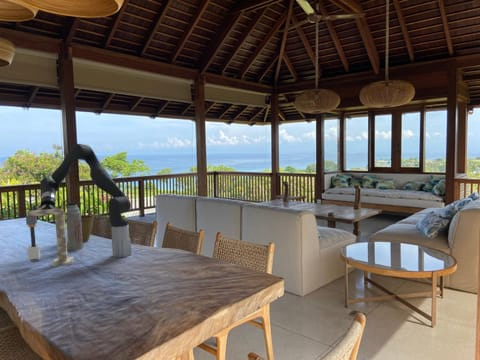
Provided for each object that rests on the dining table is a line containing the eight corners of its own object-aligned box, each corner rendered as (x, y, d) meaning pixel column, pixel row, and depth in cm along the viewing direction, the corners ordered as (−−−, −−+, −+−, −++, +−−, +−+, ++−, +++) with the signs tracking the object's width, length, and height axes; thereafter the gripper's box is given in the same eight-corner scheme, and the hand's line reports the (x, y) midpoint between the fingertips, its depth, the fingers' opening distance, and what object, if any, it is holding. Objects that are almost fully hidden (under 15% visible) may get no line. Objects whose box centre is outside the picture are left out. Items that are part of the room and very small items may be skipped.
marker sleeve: (40, 255, 176) (39, 244, 175) (38, 258, 172) (37, 247, 171) (30, 256, 174) (29, 245, 174) (28, 259, 170) (27, 248, 169)
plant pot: (85, 244, 211) (83, 219, 210) (64, 243, 214) (63, 219, 213) (99, 238, 226) (98, 214, 224) (80, 237, 229) (78, 214, 227)
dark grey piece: (40, 259, 176) (36, 214, 173) (38, 262, 172) (34, 216, 170) (31, 260, 174) (27, 215, 172) (29, 263, 171) (25, 217, 168)
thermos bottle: (85, 247, 204) (82, 202, 201) (72, 251, 198) (69, 204, 195) (78, 245, 209) (75, 201, 206) (65, 248, 202) (62, 203, 200)
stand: (73, 258, 184) (69, 207, 181) (71, 263, 176) (68, 209, 173) (34, 263, 177) (30, 209, 174) (31, 269, 169) (26, 212, 166)
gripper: (34, 195, 188) (31, 212, 176) (62, 195, 195) (61, 212, 182) (33, 205, 191) (31, 223, 179) (61, 206, 198) (61, 223, 186)
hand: (46, 218), depth 181 cm, fingers open, 8 cm apart
